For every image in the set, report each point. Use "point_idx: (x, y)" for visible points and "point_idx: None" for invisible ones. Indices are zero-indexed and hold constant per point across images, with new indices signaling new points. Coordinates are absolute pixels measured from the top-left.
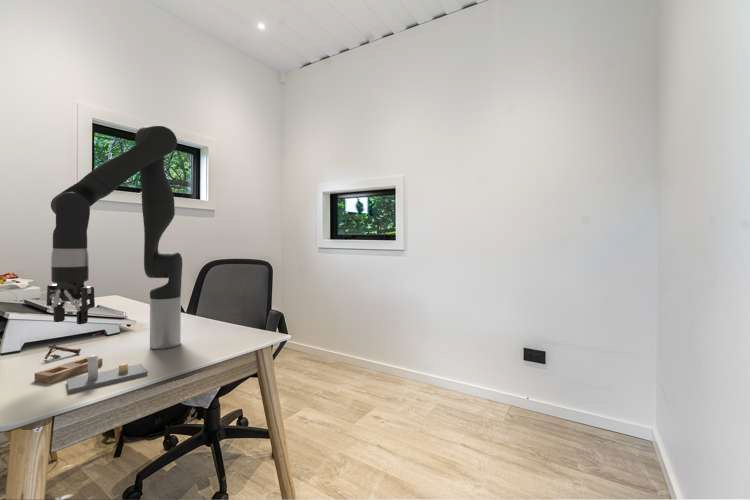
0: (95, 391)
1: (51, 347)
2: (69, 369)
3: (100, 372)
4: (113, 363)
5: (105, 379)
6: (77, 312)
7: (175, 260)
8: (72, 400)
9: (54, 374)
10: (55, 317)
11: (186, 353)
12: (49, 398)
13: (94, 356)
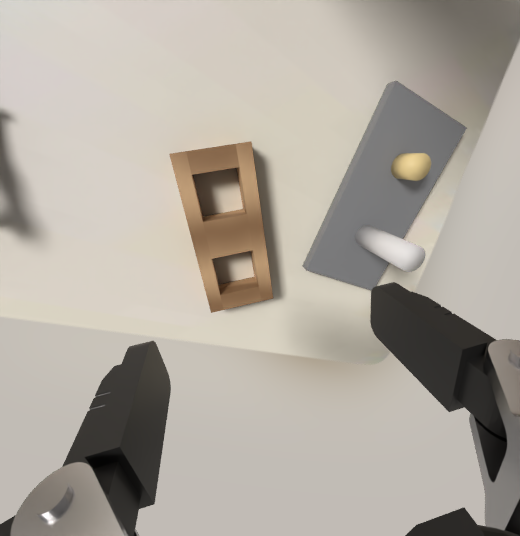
0: None
1: None
2: (266, 253)
3: (341, 202)
4: (263, 109)
5: (400, 222)
6: (448, 399)
7: None
8: None
9: (271, 288)
10: (165, 417)
11: None
12: (352, 312)
13: (420, 257)
